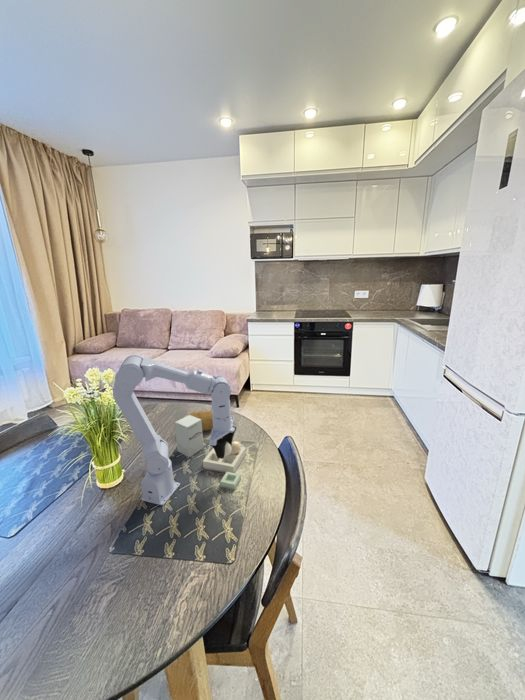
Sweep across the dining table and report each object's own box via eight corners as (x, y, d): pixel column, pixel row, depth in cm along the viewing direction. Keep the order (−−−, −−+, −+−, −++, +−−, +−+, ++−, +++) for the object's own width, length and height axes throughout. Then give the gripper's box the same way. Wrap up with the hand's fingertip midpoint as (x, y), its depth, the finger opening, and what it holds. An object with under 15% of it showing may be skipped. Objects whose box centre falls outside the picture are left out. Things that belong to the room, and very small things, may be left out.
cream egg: (228, 461, 94) (227, 447, 93) (214, 458, 96) (213, 445, 94) (234, 452, 99) (233, 439, 97) (221, 450, 100) (220, 437, 99)
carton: (233, 474, 101) (233, 466, 100) (203, 468, 104) (202, 461, 103) (246, 454, 111) (245, 447, 110) (217, 449, 115) (217, 442, 114)
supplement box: (189, 458, 110) (186, 427, 107) (177, 451, 115) (173, 421, 111) (204, 448, 116) (201, 419, 113) (192, 442, 120) (189, 414, 117)
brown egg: (238, 458, 106) (237, 446, 105) (225, 456, 107) (224, 444, 106) (243, 450, 110) (242, 439, 109) (231, 448, 112) (230, 437, 110)
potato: (189, 423, 135) (188, 407, 133) (220, 423, 134) (219, 407, 132) (183, 435, 125) (181, 418, 123) (216, 435, 125) (215, 418, 123)
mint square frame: (235, 489, 94) (234, 484, 93) (220, 486, 95) (220, 481, 94) (240, 479, 98) (240, 474, 98) (227, 476, 100) (226, 471, 99)
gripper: (223, 428, 85) (225, 468, 89) (242, 406, 99) (243, 442, 102) (201, 424, 88) (204, 464, 91) (222, 404, 101) (225, 439, 104)
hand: (224, 452), depth 97 cm, fingers closed on cream egg, 5 cm apart
